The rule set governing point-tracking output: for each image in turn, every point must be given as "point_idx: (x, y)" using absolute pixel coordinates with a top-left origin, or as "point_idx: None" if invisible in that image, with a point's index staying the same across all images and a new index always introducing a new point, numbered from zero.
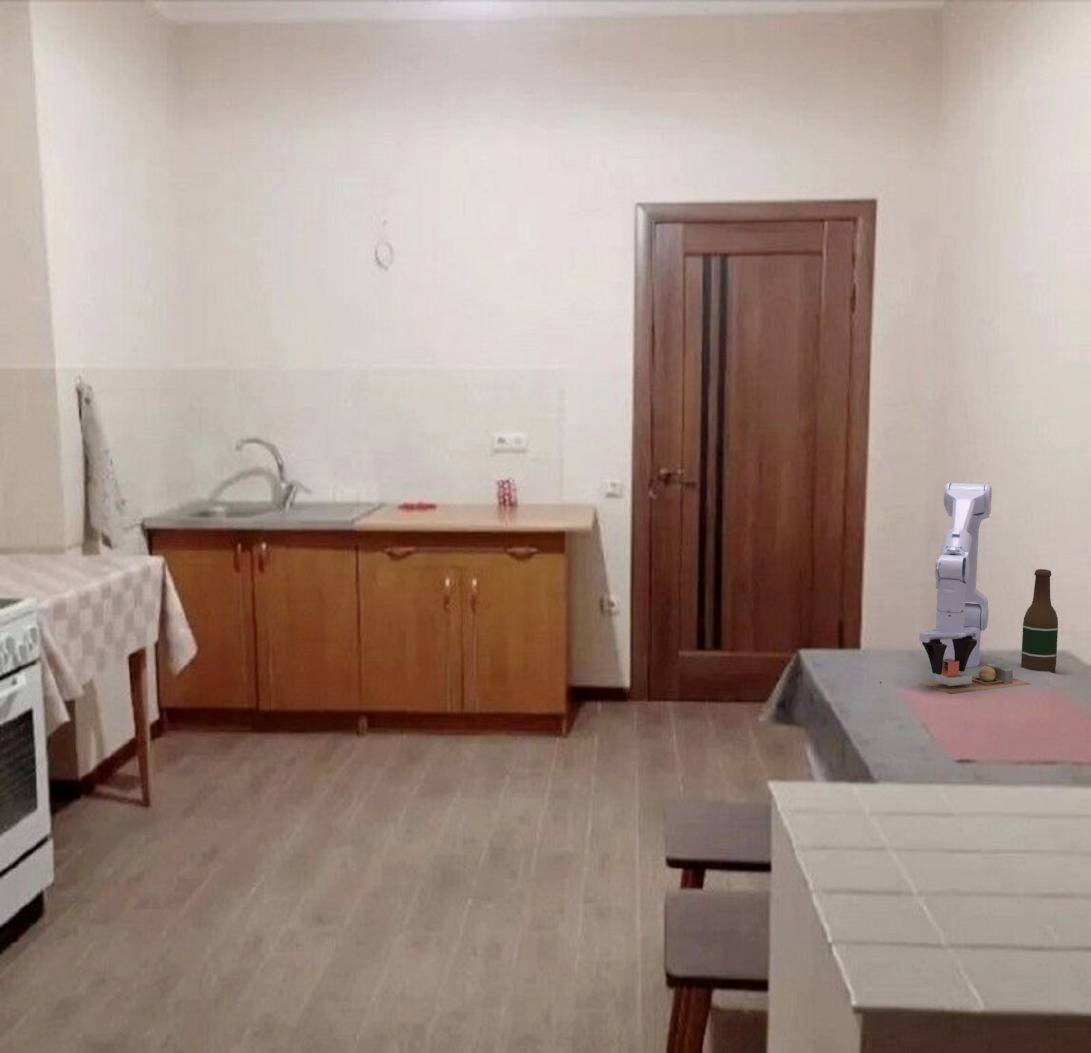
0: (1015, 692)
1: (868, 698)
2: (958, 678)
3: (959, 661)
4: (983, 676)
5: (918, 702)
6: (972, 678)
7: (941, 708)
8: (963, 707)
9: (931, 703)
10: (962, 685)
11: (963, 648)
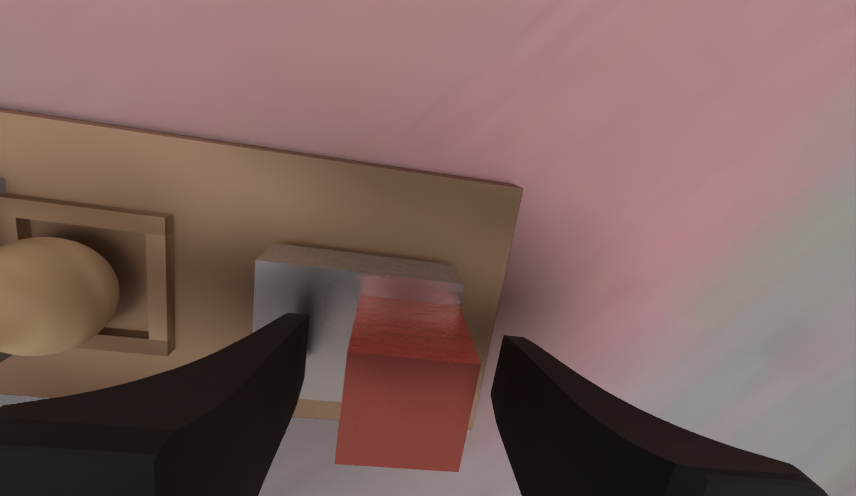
0: (16, 90)
1: (800, 388)
2: (386, 271)
3: (284, 390)
4: (108, 278)
5: (695, 232)
6: (150, 342)
7: (710, 83)
8: (597, 25)
9: (661, 184)
10: None
11: (230, 456)
